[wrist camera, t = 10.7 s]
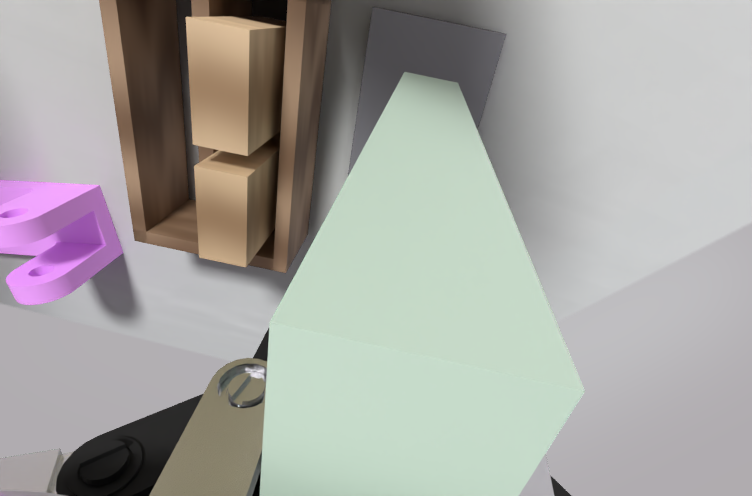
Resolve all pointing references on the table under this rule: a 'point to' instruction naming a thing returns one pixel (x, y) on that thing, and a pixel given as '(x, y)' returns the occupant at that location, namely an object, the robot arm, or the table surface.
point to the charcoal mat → (422, 63)
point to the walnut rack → (166, 120)
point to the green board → (415, 326)
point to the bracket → (54, 237)
